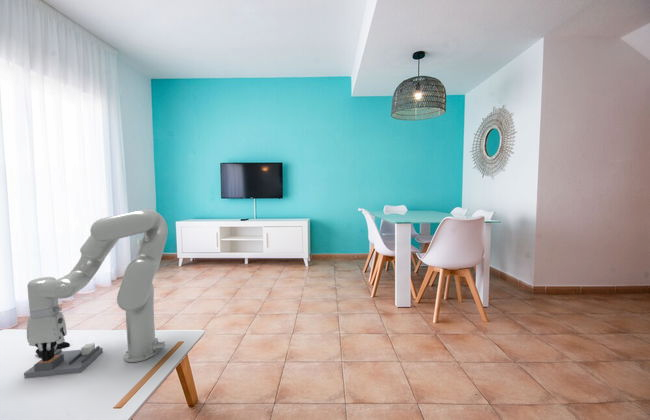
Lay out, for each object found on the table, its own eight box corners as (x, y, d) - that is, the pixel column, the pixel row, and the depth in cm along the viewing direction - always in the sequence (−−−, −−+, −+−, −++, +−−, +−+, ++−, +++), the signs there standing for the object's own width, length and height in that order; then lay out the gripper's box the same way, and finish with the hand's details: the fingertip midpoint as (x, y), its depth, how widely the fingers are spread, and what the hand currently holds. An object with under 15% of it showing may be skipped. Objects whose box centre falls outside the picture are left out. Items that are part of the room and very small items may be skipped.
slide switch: (95, 350, 113) (94, 343, 112) (90, 354, 110) (89, 347, 110) (86, 351, 112) (86, 344, 112) (81, 355, 109) (81, 348, 109)
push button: (59, 359, 105) (59, 355, 105) (51, 366, 101) (50, 361, 101) (47, 360, 105) (47, 356, 105) (38, 367, 101) (38, 362, 101)
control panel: (102, 352, 115) (101, 341, 115) (80, 372, 102) (79, 360, 102) (53, 356, 112) (52, 346, 112) (24, 378, 99) (23, 366, 99)
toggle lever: (58, 349, 111) (61, 333, 113) (55, 350, 110) (58, 333, 111) (53, 350, 111) (56, 333, 113) (49, 351, 109) (52, 334, 111)
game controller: (45, 356, 111) (33, 346, 112) (41, 366, 112) (29, 355, 112) (72, 343, 120) (60, 333, 121) (67, 352, 121) (56, 342, 122)
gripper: (75, 305, 106) (78, 351, 108) (30, 308, 104) (34, 355, 105) (59, 314, 99) (63, 363, 100) (11, 317, 97) (15, 367, 98)
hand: (48, 358), depth 103 cm, fingers closed
